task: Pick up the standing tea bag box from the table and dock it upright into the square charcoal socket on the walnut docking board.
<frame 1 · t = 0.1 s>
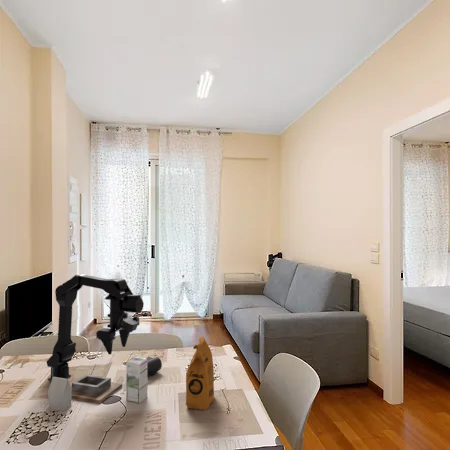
hand: (117, 350, 136), 15 cm above the table, tool pointing down, fingers open, 9 cm apart
coffee package: (199, 402, 124), on the table
dock: (91, 391, 133), on the table
tea bag: (59, 407, 121), on the table
syrup box: (136, 399, 126), on the table
end cap: (147, 376, 148), on the table
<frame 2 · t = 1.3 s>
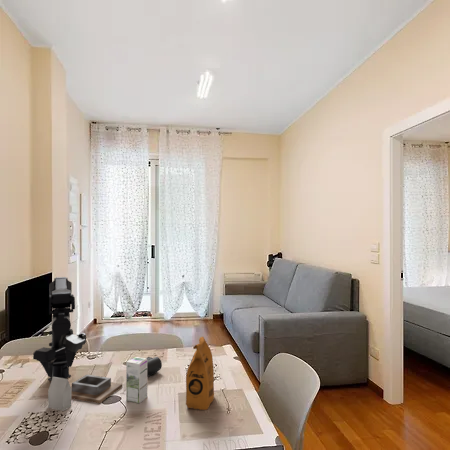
hand: (60, 371, 121), 12 cm above the table, tool pointing down, fingers open, 9 cm apart
nothing on the table moved.
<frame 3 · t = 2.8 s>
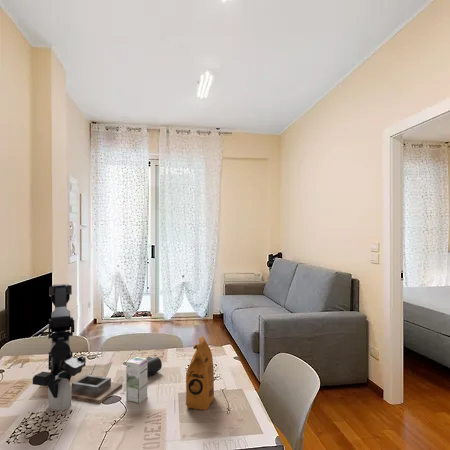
hand: (59, 395, 121), 4 cm above the table, tool pointing down, fingers closed on tea bag, 4 cm apart
tea bag: (59, 407, 121), on the table, touching gripper
everything else where it was.
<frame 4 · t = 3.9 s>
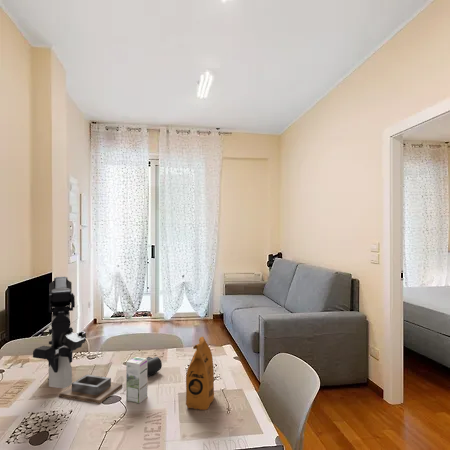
hand: (60, 370, 121), 13 cm above the table, tool pointing down, fingers closed on tea bag, 4 cm apart
tea bag: (60, 385, 121), point 7 cm above the table, touching gripper
everything else where it was.
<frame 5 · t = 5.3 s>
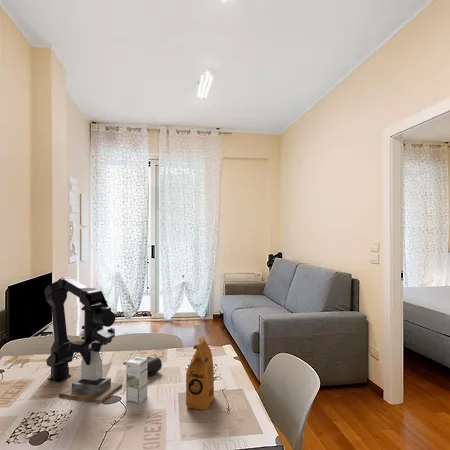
hand: (91, 363, 133), 11 cm above the table, tool pointing down, fingers closed on tea bag, 4 cm apart
tea bag: (92, 378, 133), point 5 cm above the table, touching gripper
everything else where it was.
when the fingers open (7 cm above the table, at t = 6.3 s): tea bag stays where it is, resting on dock.
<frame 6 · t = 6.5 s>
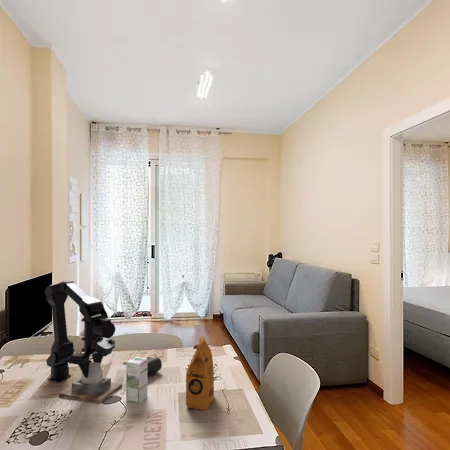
hand: (91, 374, 133), 7 cm above the table, tool pointing down, fingers open, 6 cm apart
tea bag: (92, 388, 133), point 1 cm above the table, touching dock
everything else where it was.
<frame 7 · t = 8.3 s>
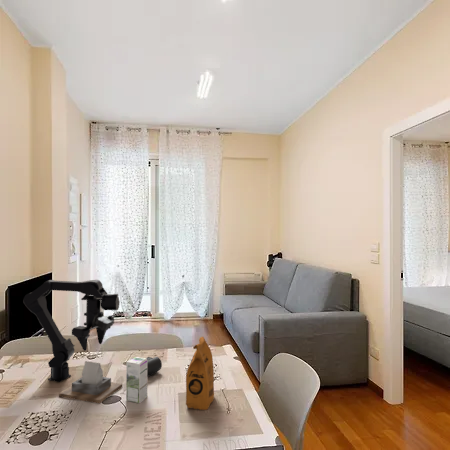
hand: (92, 347, 146), 13 cm above the table, tool pointing down, fingers open, 9 cm apart
nothing on the table moved.
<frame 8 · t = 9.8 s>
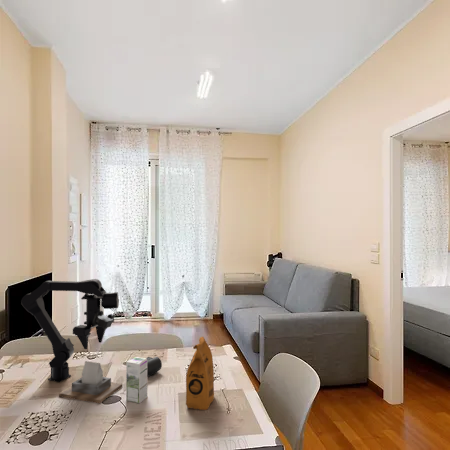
hand: (93, 345, 147), 13 cm above the table, tool pointing down, fingers open, 9 cm apart
nothing on the table moved.
at the end: tea bag 0.2 cm off-centre on the dock, point 1.0 cm above the dock's base; tea bag tilted 0°; the gripper is holding nothing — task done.
